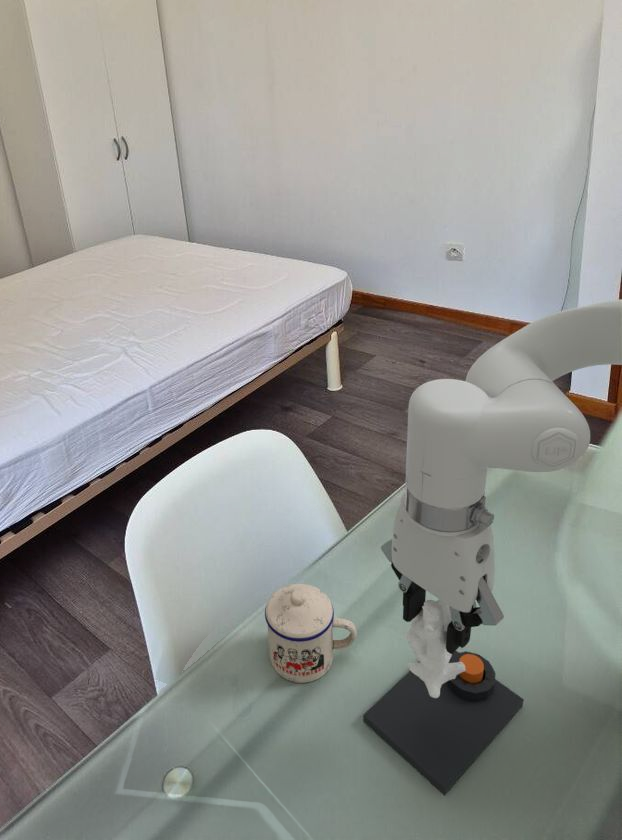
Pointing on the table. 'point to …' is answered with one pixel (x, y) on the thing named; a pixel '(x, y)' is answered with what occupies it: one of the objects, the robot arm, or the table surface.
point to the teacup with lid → (303, 632)
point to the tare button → (472, 669)
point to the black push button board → (443, 722)
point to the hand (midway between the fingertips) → (434, 628)
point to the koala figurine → (432, 646)
